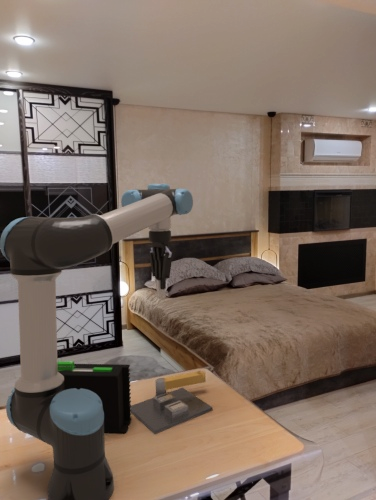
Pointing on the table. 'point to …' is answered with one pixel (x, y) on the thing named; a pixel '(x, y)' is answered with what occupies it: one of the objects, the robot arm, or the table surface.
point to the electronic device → (103, 390)
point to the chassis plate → (161, 418)
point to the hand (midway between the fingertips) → (161, 297)
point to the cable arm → (178, 381)
